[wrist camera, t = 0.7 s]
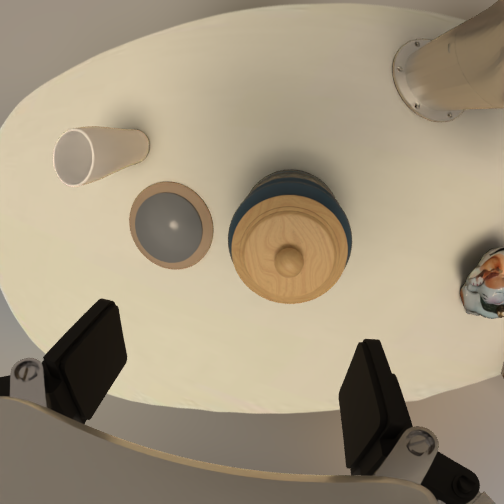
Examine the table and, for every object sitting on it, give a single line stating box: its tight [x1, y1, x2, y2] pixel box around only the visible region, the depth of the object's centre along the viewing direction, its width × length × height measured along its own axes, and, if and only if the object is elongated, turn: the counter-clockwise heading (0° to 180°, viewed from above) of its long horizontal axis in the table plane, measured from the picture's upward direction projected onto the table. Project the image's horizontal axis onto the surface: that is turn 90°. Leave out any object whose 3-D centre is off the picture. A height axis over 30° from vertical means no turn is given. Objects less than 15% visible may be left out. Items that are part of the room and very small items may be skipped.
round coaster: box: [129, 182, 213, 269], centre depth 44 cm, size 14×14×1 cm
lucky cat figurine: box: [460, 247, 504, 319], centre depth 34 cm, size 15×12×14 cm
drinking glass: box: [53, 126, 149, 187], centre depth 34 cm, size 7×7×15 cm
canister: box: [228, 170, 352, 304], centre depth 33 cm, size 13×13×18 cm
